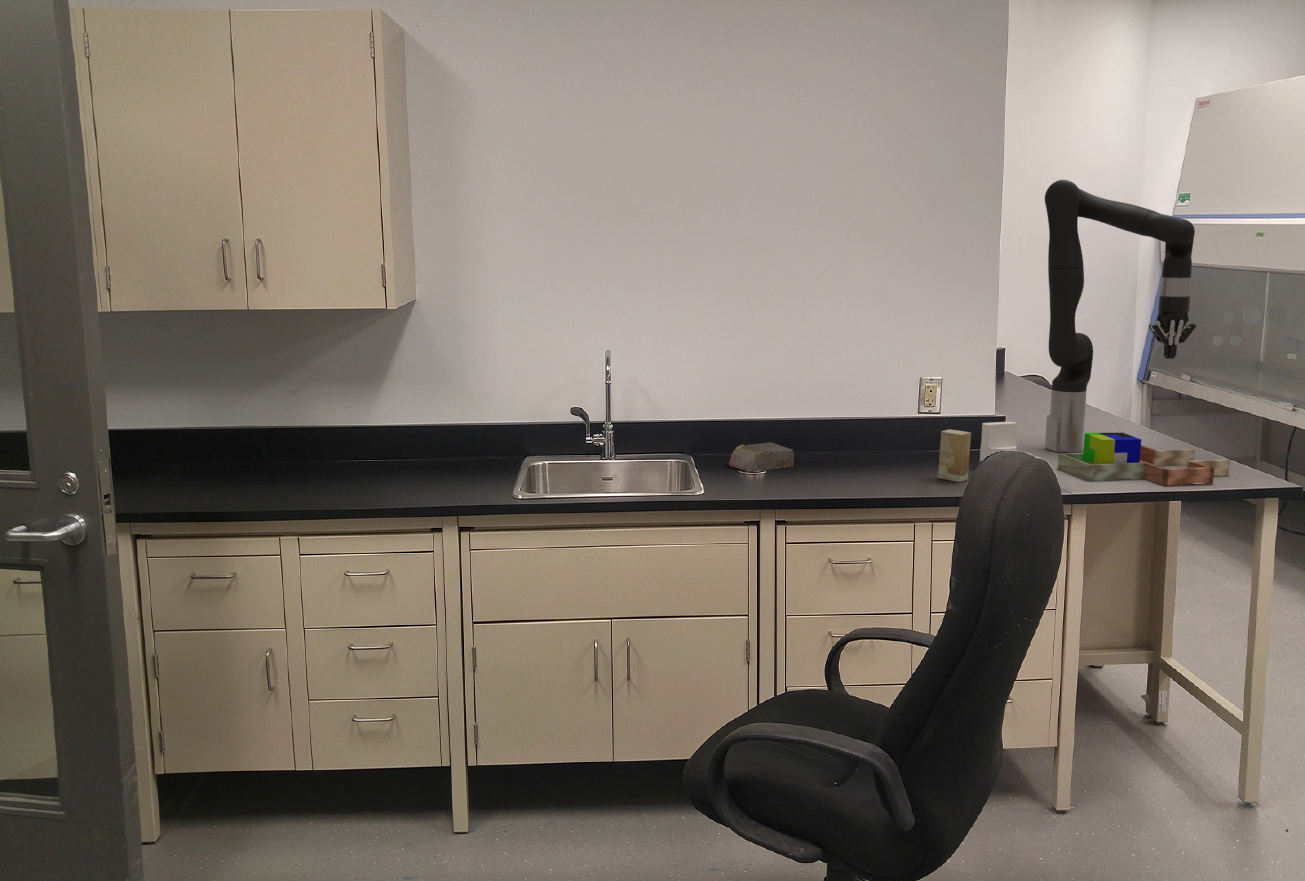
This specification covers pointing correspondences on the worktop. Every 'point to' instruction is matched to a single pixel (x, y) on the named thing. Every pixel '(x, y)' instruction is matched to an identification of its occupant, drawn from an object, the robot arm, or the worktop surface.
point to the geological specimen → (762, 457)
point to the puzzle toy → (1111, 448)
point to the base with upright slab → (997, 438)
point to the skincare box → (954, 455)
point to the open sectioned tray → (1148, 467)
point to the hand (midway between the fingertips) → (1169, 358)
